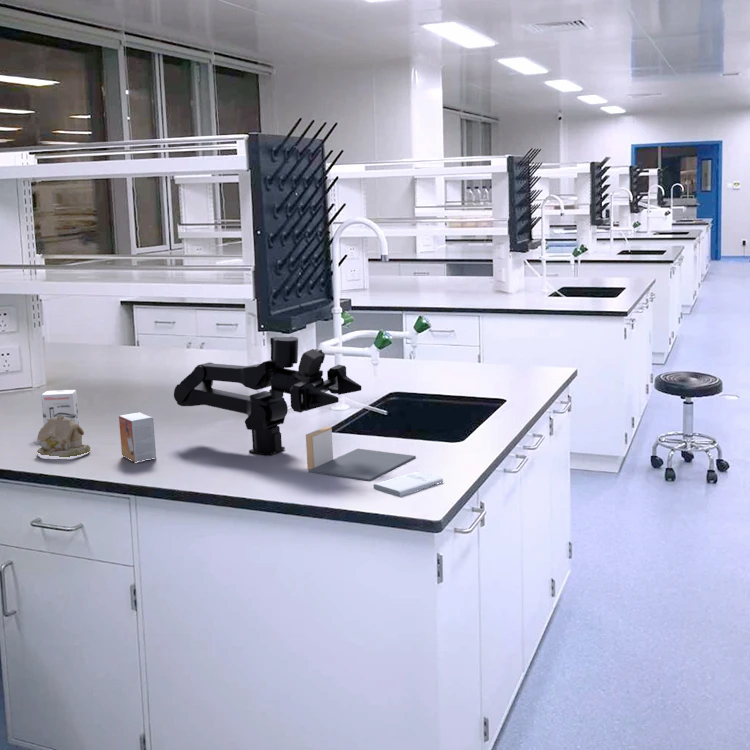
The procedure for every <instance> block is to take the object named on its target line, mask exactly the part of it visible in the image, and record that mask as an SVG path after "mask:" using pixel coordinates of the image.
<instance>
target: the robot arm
mask: <svg viewBox="0 0 750 750" xmlns="http://www.w3.org/2000/svg"><path fill="white" fill-rule="evenodd" d="M269 340H270V343H269V344H270V360H266V361H263V362H262V363H261V362H260V363H257V364H252V365H237V364H223V363H214V362H206V363H202V364H197V365H196V366H195V367H194V368H193V370H192V371H191V372H190V373H189V374H188V375H187V376H186V377H185V378H184V379H182V380H181V381H180V383H179V384H178V383H177V384H176V386H175V387H174V390H173V399H174V400H175V401H176V404H177V405H178V406H180V407H197V406H208V407H212V408H217V409H220V410H221V409H222V410H225V411H231V412H236V413H240V414H244V415H247V417H246V419H244V423H245V427H246V430H249V431H251V438H252V439H251V441H252V448H251V449H249V450H248V453H250V454H251V453H252V454H258V455H265V456H271V455H274V454H275V453H278V452H281V451H284V450H285V449H286V447H285V446H283V444H282V443H283V442H282V433H281V430H280V428H281V427H280V425H283V424H284V422H285V419H286V416H287V414H288V410H289V408H288V403H287V402H286V400H285V398H284V394H288V395H290V407H291V409H292V410H293V412H296V413H302V412H307V411H310V410H314V409H318V408H321V407H325V406H329V405H333V404H336V403H339V401H340V400H339V399H340V398H339V397H338V396H339V395H346V394H349V393H355V392H361V391H362V385H361V384H359V383H357V382H356V381H355V380H353V379H351V378H350V377H349V376H347V367H346V366H345V365H343V364H337V365H335V366H332V367H330V368H329V369H328V370H326V371H327V373H326V374H327V377H326V378H327V379H325V380H324V378H323V376H324V371H323V370H322V369H321V367H322V364H323V363H324V362H325V357H326V354H325V353H324V352H323V350H322V349H318V348H312V349H310V350H307V351H305V352H303V353H302V355H301V357H300V361H299V359H298V357H299V338H298V337H296V336H274V337H270V339H269ZM298 361H299V365H298V368H297V369H298V370H295V369H290V368H293V367H294V365H295V364H298ZM214 381H216V382H229V383H237V384H241V385H243V386H244V387H245V388H247V389H248V388H249V389H250V390H251V389H252V390H254V391H255V390H256V391H259V390H262V389H267V388H269V387H270V389H269V390H263V391H260V392H256V393H253V394H250V395H246V394H241V393H235V392H231V391H227V390H222V389H221V390H220V389H216V388H213V385H214ZM328 391H329V392H330V393H328ZM336 394H337V395H338V396H336Z"/></svg>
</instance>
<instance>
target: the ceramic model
mask: <svg viewBox="0 0 750 750" xmlns="http://www.w3.org/2000/svg"><path fill="white" fill-rule="evenodd" d="M84 435H85V431H84V430H83V428H82V427H81V426H80V424H79V425H78V424H76V423H74V422H73V421H72V420H71V419H66V418H65V419H64V416H63V415H62V416H61V415H58V416H57V418H50V419H49V420H48V422H47V423H46V424H45V425H44V424H43V426H42V427H41V428H40V429H39V432H38V433H37V437H36V440H37V441H39V442H40V447H39V448H38V449H37V450H36V453H37V452H38V453H40V454H41V455H49V456H59V457H70V456H77V455H81V454H84V453H87V452H89V451H90V452H91V447H90V445H89V444H83V436H84Z"/></svg>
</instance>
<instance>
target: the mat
mask: <svg viewBox="0 0 750 750" xmlns="http://www.w3.org/2000/svg"><path fill="white" fill-rule="evenodd" d="M416 458H417V457H416V455H412V454H411V455H410V454H404V453H395V452H387V451H380V450H372V449H364V448H356V449H354V450H351V451H349V452H347V453H345V454H343V455H340V456H338V457H335V458H333V460H331V461H329V462H327V463H324V464H322V465H320V466H318V467H315V468H313V469H308V472H309V473H314V474H321V475H326V476H327V475H328V476H333V477H334V476H335V477H340V478H347V479H354V480H360V481H367V482H371V481H372V480H373V481H374V479H377V478H379V477H381V476H382V475H384V474H387V473H388V472H390V471H393V470H394V469H396V468H399V467H400V466H402V465H404V464H406V463H407V462H410V461H412V460H414V459H416Z"/></svg>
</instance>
